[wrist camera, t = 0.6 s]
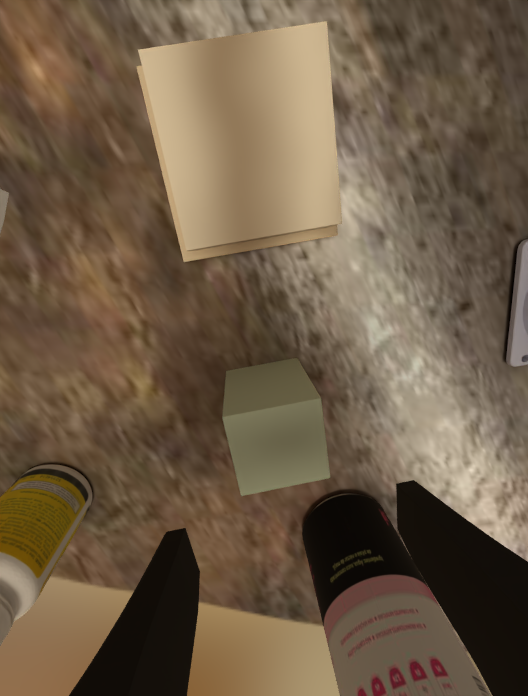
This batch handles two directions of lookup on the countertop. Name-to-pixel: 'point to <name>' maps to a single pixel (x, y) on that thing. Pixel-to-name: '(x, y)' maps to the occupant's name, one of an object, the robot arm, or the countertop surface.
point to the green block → (274, 426)
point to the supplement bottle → (36, 533)
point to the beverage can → (380, 608)
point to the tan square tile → (247, 133)
